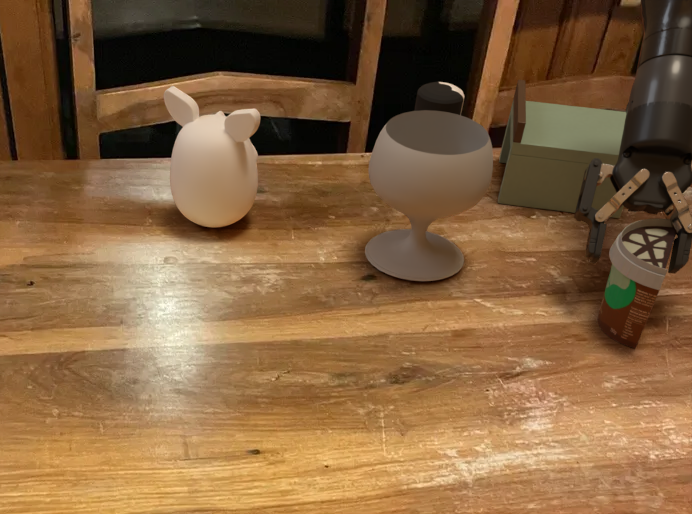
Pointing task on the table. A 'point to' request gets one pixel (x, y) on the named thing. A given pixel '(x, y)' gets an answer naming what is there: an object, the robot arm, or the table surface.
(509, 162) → the sage green lidded box
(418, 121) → the chalice
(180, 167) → the piggy bank
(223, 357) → the table surface
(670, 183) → the robot arm
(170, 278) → the table surface
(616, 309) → the food container
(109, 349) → the table surface
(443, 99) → the medicine bottle
